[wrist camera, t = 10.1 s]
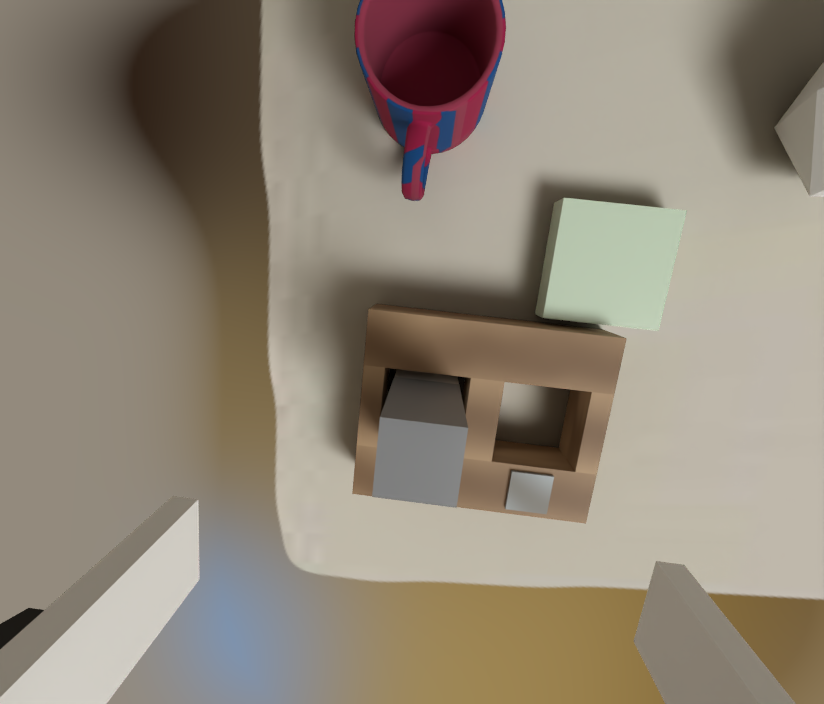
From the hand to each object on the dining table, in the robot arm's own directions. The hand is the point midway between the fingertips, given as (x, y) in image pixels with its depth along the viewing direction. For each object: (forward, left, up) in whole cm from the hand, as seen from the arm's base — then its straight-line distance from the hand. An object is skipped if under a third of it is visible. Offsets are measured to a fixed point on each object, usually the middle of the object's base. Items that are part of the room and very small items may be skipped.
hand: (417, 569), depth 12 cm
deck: (-10, +10, -17) cm, 22 cm away
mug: (-17, -2, -17) cm, 24 cm away
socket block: (0, +3, -17) cm, 18 cm away
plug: (0, 0, -17) cm, 17 cm away
